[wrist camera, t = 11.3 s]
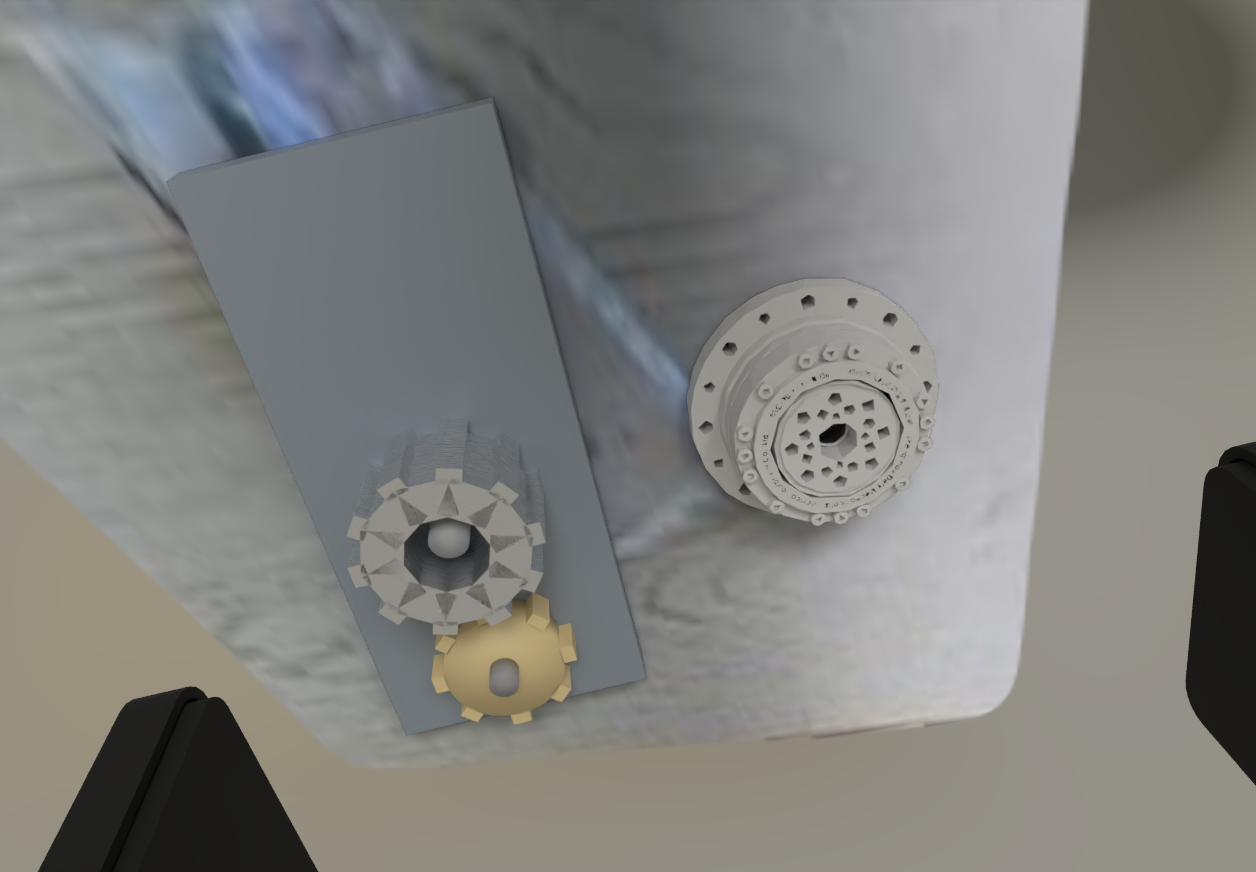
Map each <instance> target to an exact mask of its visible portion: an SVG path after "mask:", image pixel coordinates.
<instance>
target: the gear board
mask: <svg viewBox="0 0 1256 872" xmlns="http://www.w3.org/2000/svg"><path fill="white" fill-rule="evenodd" d="M166 183H167V185H168V188H169V190H170V192H171V194H172V197H173V199H174V201H175V204H176V206H177V208H178V211H179V213H180V215H181V218H182V220H183V222H184V225H185V227H186V229H187V231H188V234H189V236H190V238H191V241H192V243H193V245H194V248H195V250H196V252H197V255H198V257H199V259H200V261H201V264H202V266H203V268H204V271H205V273H206V275H207V278H208V280H209V282H210V285H211V287H212V289H213V291H214V294H215V296H216V298H217V301H218V303H219V305H220V308H221V310H222V312H223V315H224V317H225V319H226V321H227V324H228V326H229V328H230V331H231V333H232V335H233V338H234V340H235V342H236V345H237V347H238V349H239V351H240V354H241V356H242V358H243V361H244V363H245V365H246V368H247V370H248V372H249V375H250V377H251V379H252V381H253V384H254V386H255V388H256V391H257V393H258V395H259V398H260V400H261V402H262V405H263V407H264V409H265V411H266V414H267V416H268V418H269V421H270V423H271V425H272V428H273V430H274V432H275V435H276V437H277V439H278V441H279V444H280V446H281V448H282V451H283V453H284V455H285V458H286V460H287V462H288V465H289V467H290V469H291V472H292V474H293V476H294V478H295V481H296V483H297V485H298V488H299V490H300V492H301V495H302V497H303V499H304V502H305V504H306V506H307V508H308V511H309V513H310V515H311V518H312V520H313V522H314V525H315V527H316V529H317V532H318V534H319V536H320V538H321V541H322V543H323V545H324V548H325V550H326V552H327V555H328V557H329V559H330V562H331V564H332V566H333V568H334V571H335V573H336V575H337V578H338V580H339V582H340V585H341V587H342V589H343V592H344V594H345V596H346V598H347V601H348V603H349V605H350V608H351V610H352V612H353V615H354V617H355V619H356V622H357V624H358V626H359V628H360V631H361V633H362V635H363V638H364V640H365V642H366V645H367V647H368V649H369V652H370V654H371V656H372V658H373V661H374V663H375V665H376V668H377V670H378V672H379V675H380V677H381V679H382V682H383V684H384V686H385V688H386V691H387V693H388V695H389V698H390V700H391V702H392V705H393V707H394V709H395V712H396V714H397V716H398V719H399V721H400V723H401V725H402V728H403V730H404V732H405V735H410V734H415V733H419V732H423V731H427V730H431V729H436V728H440V727H444V726H448V725H452V724H457V723H461V722H465V721H469V720H473V721H476V722H478V721H479V720H480V718H482V717H486V716H490V715H494V716H511V717H512V720H513V723H514V725H515V724H519V723H524V722H528V721H532V710H533V709H535V708H537V707H539V706H541V705H542V704H544V703H545V702H549V701H553V700H557V701H560V702H562V701H563V700H564V699H565V698H566V697H570V696H574V695H579V694H583V693H587V692H591V691H595V690H600V689H604V688H608V687H612V686H616V685H621V684H625V683H629V682H633V681H638V680H642V679H646V673H645V667H644V662H643V656H642V652H641V649H640V645H639V641H638V637H637V634H636V630H635V626H634V622H633V619H632V615H631V611H630V607H629V604H628V600H627V596H626V592H625V589H624V585H623V581H622V577H621V574H620V570H619V566H618V562H617V559H616V555H615V551H614V548H613V544H612V540H611V536H610V533H609V529H608V525H607V521H606V518H605V514H604V510H603V506H602V503H601V499H600V495H599V491H598V488H597V484H596V480H595V476H594V473H593V469H592V465H591V461H590V458H589V454H588V450H587V446H586V443H585V439H584V435H583V431H582V428H581V424H580V420H579V416H578V413H577V409H576V405H575V401H574V398H573V394H572V390H571V386H570V383H569V379H568V375H567V371H566V368H565V364H564V360H563V357H562V353H561V349H560V345H559V342H558V338H557V334H556V330H555V327H554V323H553V319H552V315H551V312H550V308H549V304H548V300H547V297H546V293H545V289H544V285H543V282H542V278H541V274H540V270H539V267H538V263H537V259H536V255H535V252H534V248H533V244H532V240H531V237H530V233H529V229H528V225H527V222H526V218H525V214H524V210H523V207H522V203H521V199H520V195H519V192H518V188H517V184H516V180H515V177H514V173H513V169H512V165H511V162H510V158H509V154H508V151H507V147H506V143H505V139H504V136H503V132H502V128H501V124H500V121H499V117H498V113H497V109H496V106H495V102H494V98H493V97H490V98H486V99H482V100H478V101H474V102H469V103H465V104H461V105H457V106H453V107H449V108H445V109H441V110H436V111H432V112H428V113H424V114H420V115H416V116H412V117H407V118H403V119H399V120H395V121H391V122H387V123H383V124H379V125H374V126H370V127H366V128H362V129H358V130H354V131H350V132H346V133H341V134H337V135H333V136H329V137H325V138H321V139H317V140H312V141H308V142H304V143H300V144H296V145H292V146H288V147H284V148H279V149H275V150H271V151H267V152H263V153H259V154H255V155H251V156H246V157H242V158H238V159H234V160H230V161H226V162H222V163H218V164H213V165H209V166H205V167H201V168H197V169H193V170H189V171H184V172H180V173H179V174H177V175H176V176H174V177H172V178H171V179H169V180H168V181H166ZM444 418H454V419H468V431H470V432H472V433H475V434H478V435H481V436H484V437H487V438H490V439H494V437H495V436H496V435H497V434H498V433H499V432H500V431H502V432H504V433H505V434H507V435H508V436H509V437H511V438H512V439H514V440H515V441H516V442H518V443H519V464H520V465H521V466H522V468H523V469H524V470H525V472H526V471H530V470H535V469H538V472H539V475H540V478H541V482H542V485H543V491H544V513H545V536H546V543H543V544H542V548H543V576H542V578H541V580H540V582H539V584H538V586H537V588H536V590H535V593H534V592H530V591H527V590H524V589H521V590H520V591H519V592H518V593H517V594H516V595H515V596H514V598H513V599H512V616H510V617H509V618H507V619H505V620H503V621H501V622H499V623H498V624H496V625H494V626H492V627H491V626H490V624H489V623H488V622H487V621H486V620H485V618H482V619H478V620H473V621H469V622H465V623H461V624H458V634H457V635H434V634H433V624H432V623H429V622H425V621H422V620H418V619H414V618H411V617H407V616H406V617H405V619H404V620H403V621H402V622H401V623H400V624H399V625H398V624H396V623H394V622H393V621H391V620H389V619H388V618H386V617H384V616H383V615H381V614H379V613H378V611H379V606H380V602H381V598H380V597H379V595H378V594H377V593H376V592H375V591H374V590H373V589H372V588H371V586H370V585H367V586H363V587H358V588H356V587H355V585H354V583H353V580H352V578H351V576H350V573H349V571H348V568H347V567H348V563H349V560H350V556H351V553H352V549H353V546H354V542H355V539H353V538H350V537H347V532H348V529H349V526H350V522H351V519H352V516H353V512H354V509H355V506H356V502H357V499H358V496H359V492H360V489H361V486H362V482H363V479H364V477H365V474H366V471H367V469H368V466H369V463H370V462H373V463H376V464H379V465H382V466H383V464H384V460H385V456H386V453H387V449H388V445H389V442H390V438H391V437H393V436H394V435H396V434H398V433H399V432H401V431H403V430H404V429H406V428H408V427H410V426H411V428H412V429H413V430H414V431H415V433H416V434H417V435H418V436H420V435H424V434H428V433H432V432H436V431H441V430H442V427H443V421H444ZM426 523H427V524H428V525H429V526H430V529H429V535H428V545H429V547H430V549H431V550H432V552H433V553H435V554H436V555H438V556H440V557H443V558H455V557H458V556H460V555H462V554H463V553H464V552H465V551H466V550H467V549H468V546H469V542H470V530H471V529H473V528H476V527H475V526H474V525H471V524H468V523H465V522H462V521H458V520H455V519H452V518H449V517H447V518H443V519H438V520H434V521H430V522H426Z"/></svg>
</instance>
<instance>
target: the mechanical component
mask: <svg viewBox="0 0 1256 872" xmlns="http://www.w3.org/2000/svg"><path fill="white" fill-rule="evenodd" d="M806 296H807V298H805V299H803V298H804V297H806ZM801 299H803V300H801ZM727 342H729V345H728V346H725V344H726V343H727ZM938 390H939V383H938V377H937V371H936V366H935V360H934V354H933V350H932V348H931V347H930V345H929V343H928V341H927V340H926V338H925V336H924V335H923V333H922V331H921V330H920V328H919V326H918V325H917V324H916V323H915V322H914V321H913V320H912V319H911V318H910V316H909V315H908V314H907V313H906V312H905V311H904V310H902V309H901V308H900V307H898V306H897V305H896V304H894V303H893V302H892V301H890V300H889V299H888V298H886V297H885V296H884V295H882V294H881V293H880V292H878V291H877V290H874V289H872V288H869V287H866V286H863V285H861V284H858V283H855V282H852V281H850V280H847V279H844V278H831V279H801V280H798V281H794V282H790V283H786V284H782V285H778V286H775V287H773V288H771V289H769V290H767V291H765V292H762V293H760V294H758V295H756V296H754V297H752V298H751V299H749V300H748V301H747V302H745V303H744V304H743V305H741V306H740V307H739V308H737V309H736V310H735V311H733V312H732V313H731V314H730V315H728V316H727V317H726V318H725V319H724V320H723V322H722V323H721V324H720V325H719V327H718V328H717V329H716V330H715V332H714V333H713V334H712V335H711V337H710V338H709V339H708V341H707V342H706V343H705V345H704V346H703V348H702V350H701V352H700V354H699V356H698V358H697V361H696V363H695V365H694V367H693V371H692V375H691V380H690V385H689V389H688V394H687V407H688V417H689V426H690V433H691V435H692V438H693V440H694V443H695V445H696V447H697V450H698V452H699V454H700V457H701V459H702V461H703V464H704V466H705V468H706V470H707V471H708V472H709V473H710V474H711V475H712V477H713V478H714V479H715V480H716V481H717V482H718V484H719V485H720V486H721V487H722V488H723V489H724V491H725V492H726V493H728V494H730V495H731V496H733V497H735V498H736V499H738V500H740V501H741V502H743V503H745V504H747V505H749V506H752V507H755V508H758V509H761V510H764V511H767V512H769V513H772V514H780V515H783V516H787V517H791V518H795V519H799V520H803V521H811V522H812V523H813V525H816V526H820V525H822V524H823V523H825V522H832V521H835V522H836V523H837V524H843V523H846V521H847V520H848V518H849V517H853V516H857V515H858V516H859V517H863V518H864V517H867V516H869V514H870V512H871V510H872V509H873V508H874V507H876V506H878V505H879V504H881V503H883V502H884V501H886V500H887V499H889V498H890V497H891V496H892V495H894V494H895V493H896V492H897V491H899V490H900V491H901V490H904V489H907V488H908V487H909V485H910V481H909V478H910V477H911V475H912V474H913V473H914V471H915V470H916V469H917V467H918V466H919V465H920V462H921V460H922V457H923V454H924V451H925V450H928V449H930V448H931V446H932V444H933V443H932V440H931V438H930V435H931V432H932V427H933V426H934V423H935V419H934V414H935V408H936V402H937V396H938ZM833 424H836V425H834V426H833V427H832V428H830V429H828V428H829V427H830V426H831V425H833ZM826 429H828V430H826ZM825 430H826V431H825Z"/></svg>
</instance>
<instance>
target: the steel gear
mask: <svg viewBox="0 0 1256 872" xmlns="http://www.w3.org/2000/svg"><path fill="white" fill-rule="evenodd" d="M447 517H449V518H452V519H455V520H458V521H462V522H465V523H468V524H471V525H474V526H475V527H476V528H473V529H471V530H470V542H469V546H468V549H467V550H466V551H465V552H464V553H463V554H462V555H460V556H458V557H455V558H443V557H440V556H438V555H436V554H435V553H433V552H432V550H431V549H430V547H429V545H428V535H429V529H430V526H429V525H428V524H427V523H426V522H430V521H434V520H438V519H443V518H447ZM347 537H350V538H353V539H355V542H354V546H353V549H352V553H351V556H350V560H349V563H348V567H347V568H348V571H349V573H350V576H351V578H352V580H353V583H354V585H355V587H356V588H358V587H363V586H367V585H370V586H371V588H372V589H373V590H374V591H375V592H376V593H377V594H378V595H379V597H380V598H381V602H380V606H379V611H378V613H379V614H381V615H383V616H384V617H386V618H388V619H389V620H391V621H393V622H394V623H396V624H398V625H399V624H400V623H401V622H402V621H403V620H404V619H405V617H406V616H407V617H411V618H414V619H418V620H422V621H425V622H429V623H432V624H433V634H434V635H457V634H458V624H461V623H465V622H469V621H473V620H478V619H482V618H485V620H486V621H487V622H488V623H489V624H490V626H491V627H492V626H494V625H496V624H498V623H499V622H501V621H503V620H505V619H507V618H509V617H510V616H512V599H513V598H514V596H515V595H516V594H517V593H518V592H519V591H520V590H521V589H524V590H527V591H530V592H534V593H535V590H536V588H537V586H538V584H539V582H540V580H541V578H542V576H543V548H542V544H543V543H546V536H545V513H544V491H543V485H542V482H541V478H540V475H539V472H538V469H535V470H530V471H526V472H525V470H524V469H523V468H522V466H521V465H520V464H519V443H518V442H516V441H515V440H514V439H512V438H511V437H509V436H508V435H507V434H505V433H504V432H502V431H500V432H499V433H498V434H497V435H496V436H495V437H494V439H490V438H487V437H484V436H481V435H478V434H475V433H472V432H470V431H468V419H454V418H444V421H443V427H442V430H441V431H436V432H432V433H428V434H424V435H420V436H418V435H417V434H416V433H415V431H414V430H413V429H412V428H411V426H410V427H408V428H406V429H404V430H403V431H401V432H399V433H398V434H396V435H394V436H393V437H391V438H390V442H389V445H388V449H387V453H386V456H385V460H384V464H383V466H382V465H379V464H376V463H373V462H370V463H369V466H368V469H367V471H366V474H365V477H364V479H363V482H362V486H361V489H360V492H359V496H358V499H357V502H356V506H355V509H354V512H353V516H352V519H351V522H350V526H349V529H348V532H347Z"/></svg>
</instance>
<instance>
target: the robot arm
mask: <svg viewBox="0 0 1256 872" xmlns="http://www.w3.org/2000/svg"><path fill="white" fill-rule="evenodd" d="M1186 691H1187V695H1188V698H1189V701H1190V704H1191V706H1192V708H1193V710H1194V712H1195V714H1196V716H1197V717H1198V718H1199V720H1200V721H1201V723H1202V724H1203V725H1204V726H1205V727H1206V728H1207V730H1208V731H1209V732H1210V733H1211V734H1212V735H1213V737H1214V738H1215V739H1216V740H1217V741H1218V742H1219V744H1220V745H1221V746H1222V747H1223V748H1224V749H1225V750H1226V751H1227V753H1228V754H1229V755H1230V756H1231V757H1232V759H1233V760H1234V761H1235V762H1236V763H1237V764H1238V765H1239V767H1240V768H1241V769H1242V770H1243V771H1244V773H1245V774H1246V775H1247V776H1248V777H1249V778H1250V779H1251V781H1252V782H1253V783H1254V784H1255V785H1256V442H1252V443H1248V444H1243V445H1239V446H1235V447H1232V448H1230V449H1228V450H1226V451H1225V452H1224V453H1223V455H1222V456H1221V458H1220V460H1219V465H1218V467H1215V468H1213V469H1210V470H1209V472H1208V473H1207V475H1206V477H1205V481H1204V489H1203V499H1202V510H1201V522H1200V531H1199V542H1198V553H1197V564H1196V574H1195V585H1194V596H1193V607H1192V618H1191V628H1190V639H1189V650H1188V662H1187V671H1186ZM38 872H318V871H317V869H316V867H315V865H314V863H313V861H312V860H311V858H310V857H309V854H308V852H307V851H306V849H305V847H304V845H303V843H302V841H301V840H300V838H299V836H298V834H297V832H296V830H295V829H294V827H293V825H292V823H291V821H290V819H289V817H288V816H287V814H286V812H285V810H284V808H283V806H282V805H281V803H280V801H279V799H278V797H277V795H276V794H275V792H274V790H273V788H272V786H271V784H270V783H269V781H268V779H267V777H266V775H265V773H264V771H263V770H262V768H261V766H260V764H259V762H258V761H257V759H256V757H255V755H254V753H253V751H252V749H251V748H250V746H249V744H248V742H247V740H246V738H245V737H244V735H243V733H242V731H241V729H240V727H239V726H238V724H237V722H236V720H235V719H234V717H233V715H232V713H231V711H230V709H229V707H228V706H227V705H226V703H225V702H224V701H223V700H222V699H221V698H219V697H212V698H207V696H206V695H205V694H204V692H203V691H201V690H200V689H198V688H197V687H185V688H181V689H177V690H172V691H168V692H163V693H159V694H155V695H151V696H146V697H142V698H137V699H133V700H131V701H130V702H128V703H126V704H125V706H124V707H123V708H122V710H121V711H120V713H119V715H118V717H117V719H116V721H115V723H114V725H113V726H112V728H111V731H110V732H109V734H108V736H107V738H106V740H105V742H104V744H103V746H102V748H101V750H100V752H99V754H98V756H97V758H96V760H95V761H94V763H93V766H92V767H91V769H90V771H89V773H88V775H87V777H86V779H85V781H84V783H83V785H82V787H81V789H80V791H79V793H78V795H77V797H76V799H75V800H74V802H73V804H72V806H71V808H70V810H69V812H68V814H67V816H66V818H65V820H64V822H63V824H62V826H61V828H60V830H59V832H58V834H57V836H56V837H55V839H54V841H53V843H52V845H51V847H50V849H49V851H48V853H47V855H46V857H45V859H44V861H43V863H42V865H41V867H40V869H39V871H38Z"/></svg>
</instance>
